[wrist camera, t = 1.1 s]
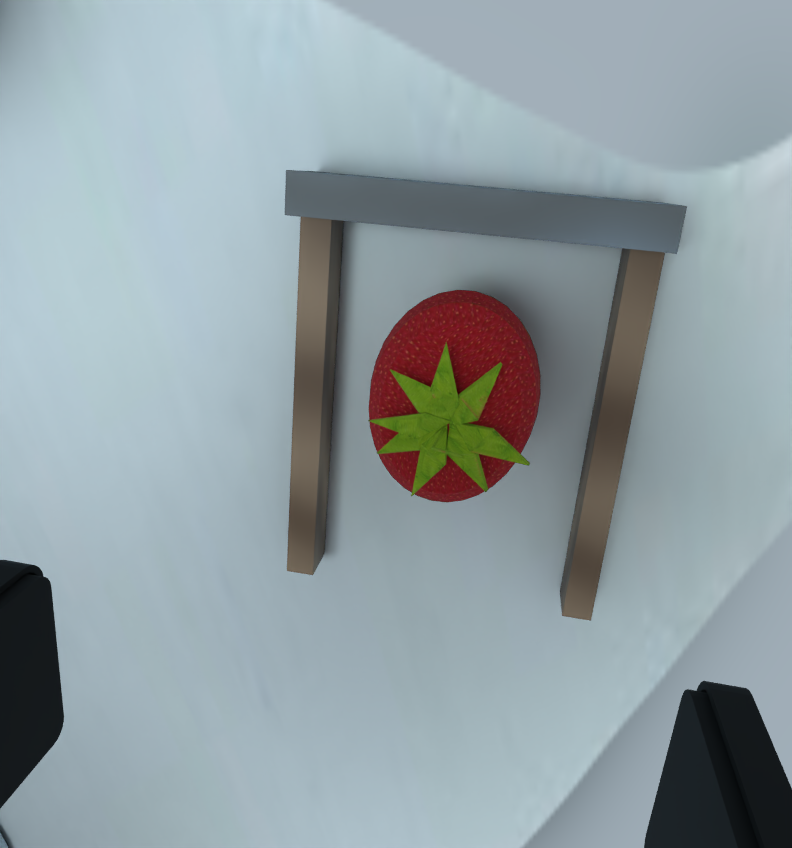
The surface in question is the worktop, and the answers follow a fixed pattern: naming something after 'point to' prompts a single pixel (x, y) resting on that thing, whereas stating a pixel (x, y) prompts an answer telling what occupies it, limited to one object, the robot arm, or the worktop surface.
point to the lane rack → (488, 215)
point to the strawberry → (454, 396)
